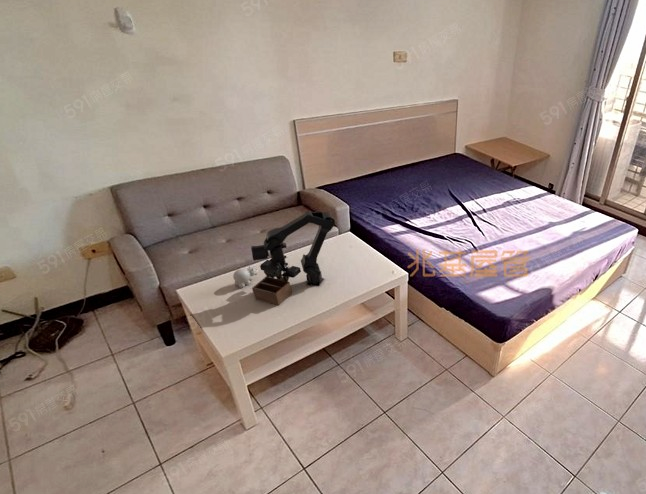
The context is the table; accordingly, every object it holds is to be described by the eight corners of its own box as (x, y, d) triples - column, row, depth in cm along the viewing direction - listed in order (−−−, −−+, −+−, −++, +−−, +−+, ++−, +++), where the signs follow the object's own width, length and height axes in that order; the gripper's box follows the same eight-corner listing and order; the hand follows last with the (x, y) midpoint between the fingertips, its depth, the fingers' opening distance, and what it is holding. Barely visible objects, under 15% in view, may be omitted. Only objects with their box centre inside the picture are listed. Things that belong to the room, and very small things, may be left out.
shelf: (275, 281, 206) (272, 271, 202) (297, 287, 204) (295, 276, 200) (255, 299, 195) (251, 288, 191) (278, 305, 192) (275, 294, 188)
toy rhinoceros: (263, 279, 209) (260, 265, 204) (240, 290, 200) (236, 276, 196) (255, 274, 212) (252, 260, 207) (232, 284, 204) (228, 270, 199)
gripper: (248, 260, 189) (256, 287, 198) (283, 269, 185) (289, 296, 194) (265, 248, 198) (271, 275, 207) (298, 256, 194) (303, 283, 203)
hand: (283, 282), depth 202 cm, fingers closed on shelf, 3 cm apart
